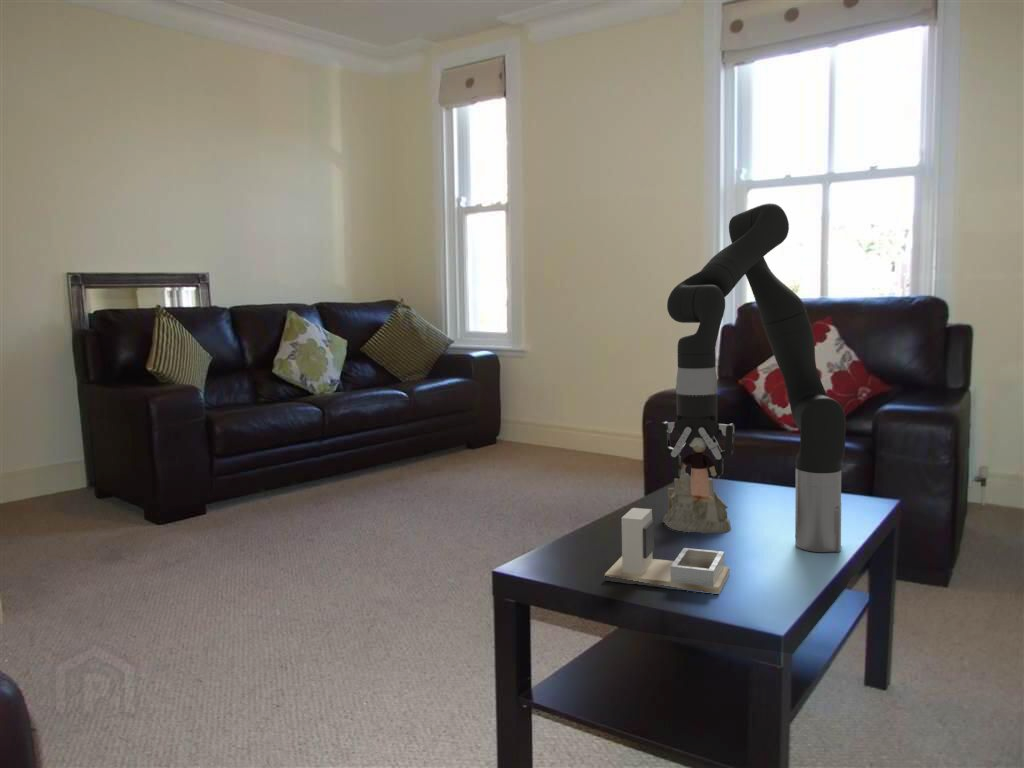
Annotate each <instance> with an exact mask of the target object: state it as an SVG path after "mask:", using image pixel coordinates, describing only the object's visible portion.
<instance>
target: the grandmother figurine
mask: <svg viewBox="0 0 1024 768" xmlns="http://www.w3.org/2000/svg"><path fill="white" fill-rule="evenodd" d="M688 445H689V447H690V448H692V449H693V451H694V452H691V453H689V454H687V455H686V456H685V457H684V458H683V459H681V470H685V471H686V469H687V468H686V467H687V466H688V465H690V467H691V468H690V478H691V495H692V496H691V498H690V500H693V501H696V500H700V502H712V501H714V499H713V498H712V497H711V496H709V481H708V478H709V472H710V476H711V477H714V476H716V475H717V473H716V472H715V467H714V461H713V460H712V459H711V456H710V455H708V454H706V453H704V452H705V451H706V450H707V444H706V443H705V442H704V441H703V439H702V438H694V440H692V442H691V444H688ZM708 469H709V470H708ZM708 471H709V472H708ZM701 496H703V498H702V497H701Z"/></svg>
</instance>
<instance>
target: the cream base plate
mask: <svg viewBox="0 0 1024 768" xmlns="http://www.w3.org/2000/svg"><path fill="white" fill-rule="evenodd" d="M674 561H675V560H668V559H660V558H659V559H657V558H653V562H652V563H651V565H650V566H649V567H648V568H647V570H646V571H645V572H644V573H643V575H640V574H631V573H623V572H622V555H621V556H620V557H619V558H618V560H616V561H615V563H613V565H612V566H611V567H610V568H609V569H608V570H607V571H606V572H605V573H604V577H605V576H609V577H616V578H622V579H627V580H633V581H639V582H644V583H650V584H655V585H656V584H657V585H664V586H671V587H677V588H682V589H689V590H695V591H703V592H709V593H717V594H719V593H720V594H721V592H722V590H723V588H724V586H725V584H726V582H727V580H728V578H729V576H730V574H731V573H730V570H731V569H730V566H725V565H724V568H723V570H722V572H721V574H720V576H719V577H718V579H717V581H716V583H715V585H714V587H711V586H702V585H694V584H685V583H677V582H671V573H670V566H671V565H672V564H673V562H674ZM687 566H688V567H697V568H706V569H709V568H710V567H709V566H700V565H691V564H688V565H687ZM729 573H730V574H729ZM728 575H729V576H728ZM727 577H728V578H727ZM726 579H727V580H726ZM725 581H726V582H725ZM724 583H725V584H724ZM723 585H724V586H723ZM722 587H723V588H722ZM721 589H722V590H721ZM720 591H721V592H720ZM720 594H719V595H720Z"/></svg>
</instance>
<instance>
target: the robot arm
mask: <svg viewBox="0 0 1024 768" xmlns="http://www.w3.org/2000/svg"><path fill="white" fill-rule="evenodd" d="M789 229H790V223H789V220H788V216H787V214H786V212H785V211H784V209H783V208H782V207H781V206H780V205H779V204H777V203H771V202H768V203H764V204H760V205H757V206H755V207H753V208H750V209H748V210H744V211H742V212H740V213H737V214H736V215H733V216H732V217H731V218H730V220H729V223H728V234H729V238H730V239H729V240H730V242H731V244H729V245H728V246H726V247H724V248H723V249H722V250H720V251H718V252H717V253H716V254H715V255H714V256H712V258H711V259H709V261H708V262H707V263H706V264H705V265H704V266H703V267H702V269H701V270H700V271H698V272H697V273H695V274H692V275H691V276H689V277H688V278H686V279H684V280H683V281H681V282H680V283H678V284H677V285H676V286H675V287H674V288H673V289H672V291H671V292H670V294H669V295H668V298H667V305H666V307H667V308H666V309H667V312H668V315H669V316H670V318H671V319H672V320H673V321H676V322H677V323H682V324H696V323H697V324H699V325H698V328H697V330H696V332H695V333H693V334H690V335H685V336H683V337H680V338H679V340H678V342H677V371H676V372H677V373H676V385H675V391H676V419H675V421H671V422H668V421H666V420H665V421H662V422H661V423H660V425H659V427H660V428H659V430H660V444H661V445H660V447H661V453H663V454H664V455H665V454H667V455H669V456H670V457H671V472H672V473H673V474H674V476H675V477H680V475H681V466H682V456H681V455H680V453H681V452H682V451H683V448H684V447H685V445H686V444H687V445H689V444H691V442H692V440H694V438H702V439H703V441H704V442H705V443H706V447H708V449H709V450H710V451H711V453H712V455H713V456H714V458H715V459H713V460H714V461H713V464H714V467H715V472H716V473H717V475H716V476H713V478H714V479H716V480H718V479H720V477H722V475H723V473H724V459H725V458H727V457H728V458H729V457H731V456H732V455H733V453H734V448H735V447H734V446H735V432H736V431H735V429H736V426H735V424H734V423H733V422H732V423H729V424H725V423H720V422H719V418H718V375H717V370H716V369H717V368H716V366H717V365H716V364H717V363H716V357H717V355H716V352H717V351H716V346H717V341H718V337H719V334H720V333H719V332H720V327H721V325H722V321H723V318H724V314H725V309H726V299H725V298H726V297H727V296H728V295H729V294H730V293H731V292H732V290H733V289H734V288H735V287H736V286H737V284H738V283H739V282H740V281H741V279H742V278H744V276H745V277H746V279H747V282H748V284H749V286H750V289H751V292H752V295H753V298H754V301H755V303H756V306H757V310H758V313H759V315H760V319H761V324H762V325H763V328H764V332H765V335H766V338H767V340H768V342H769V343H768V344H769V346H770V347H771V351H772V354H773V356H774V359H775V361H776V364H777V366H778V368H779V370H780V373H781V375H782V377H783V380H784V381H783V382H784V385H785V388H786V393H787V397H788V402H789V406H790V407H789V408H790V412H791V418H792V420H793V423H794V425H795V426H796V427H797V429H798V430H799V431H800V439H799V441H800V442H799V444H800V445H799V452H798V453H797V455H796V456H795V510H794V511H795V512H794V513H795V516H794V519H795V521H794V522H795V528H794V530H795V531H794V532H795V534H794V537H795V541H794V542H795V546H796V547H797V548H798V549H801V550H804V551H808V552H813V553H814V552H816V553H832V552H834V553H836V552H837V553H840V552H841V546H842V463H843V460H844V457H845V451H846V432H847V425H846V424H847V419H846V414H845V410H844V408H843V406H842V404H841V403H839V402H838V401H837V400H835V399H834V398H832V397H829V395H828V394H827V392H826V389H825V387H824V385H823V383H822V380H821V378H820V374H819V372H818V368H817V363H816V347H815V337H814V332H813V331H814V330H813V327H812V324H811V321H810V320H811V319H810V318H809V315H808V312H807V308H806V306H805V303H804V302H803V300H802V299H801V298H800V297H799V296H798V295H797V294H796V293H795V292H794V291H793V290H792V289H791V288H789V286H787V285H786V284H785V283H783V282H782V281H781V280H780V278H778V277H777V276H776V275H775V274H774V273H773V272H772V270H771V269H770V267H769V265H768V263H767V261H766V259H765V256H766V255H768V254H769V253H770V252H771V251H772V250H774V249H775V248H776V247H778V246H780V245H781V244H783V242H784V241H785V240H786V239H787V238H788V234H789ZM673 429H675V430H676V432H677V433H678V435H679V436H680V437H679V438H678V440H677V442H676V443H675V446H674V447H672V446H671V445H672V444H671V433H672V432H673ZM719 430H721V434H722V436H725V440H724V450H722V448H721V447H720V445H719V442H718V440H717V439H716V437H715V435H716V434H717V432H719Z"/></svg>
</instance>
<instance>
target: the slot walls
mask: <svg viewBox="0 0 1024 768" xmlns="http://www.w3.org/2000/svg"><path fill="white" fill-rule="evenodd" d="M673 561H674V562H673V564H672V565H671V566H670V573H671V582H677V583H685V584H694V585H702V586H711V587H714V585H715V583H716V581H717V579H718V577H719V576H720V574H721V572H722V570H723V568H724V566H725V551H720V550H712V549H711V550H710V549H702V548H701V549H700V548H699V549H698V548H689V547H683V549H682V550H681V551H680V553H679V554H678V555H677V557H676V558H675V560H673ZM688 564H691V565H700V566H709V567H710V568H709V569H706V568H697V567H688V566H687V565H688Z"/></svg>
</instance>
